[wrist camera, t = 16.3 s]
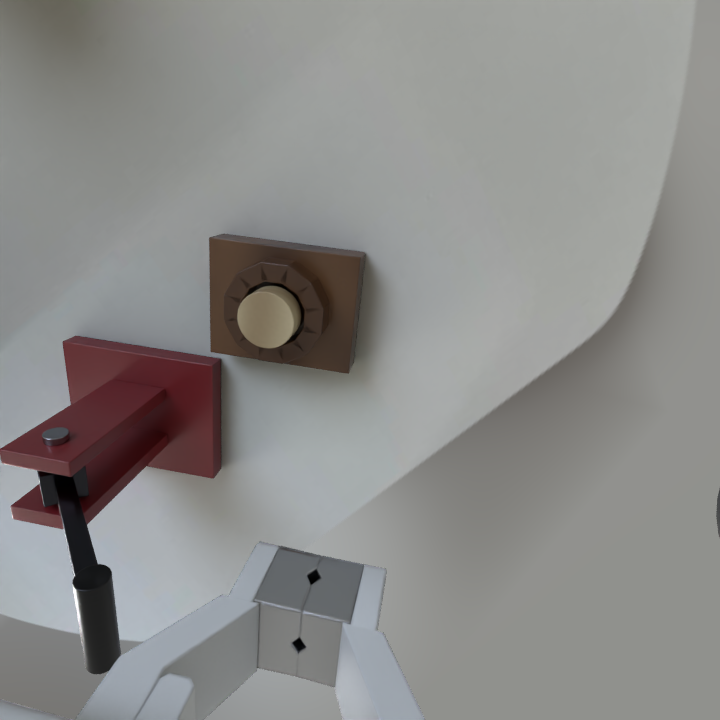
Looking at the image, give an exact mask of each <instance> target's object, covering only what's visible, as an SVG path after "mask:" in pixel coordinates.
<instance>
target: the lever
mask: <svg viewBox="0 0 720 720" xmlns="http://www.w3.org/2000/svg"><path fill="white" fill-rule="evenodd" d="M37 472H38V478H39V484H40V489H41V495H42V500H43V506H44V507H48V506H52V505H56V504H58V506H59V511H60V515H61V520H62V524H63V529H64V533H65V538H66V543H67V547H68V552H69V556H70V561H71V565H72V570H73V575H74V579H73V590H74V597H75V603H76V609H77V616H78V622H79V629H80V635H81V641H82V648H83V654H84V660H85V667H86V669H87V671H88V672H90V673H92V674H102V673H105V672H107V671H109V670H110V669H111V668H112V666H113V665H114V663H115V662H116V661H117V659H118V658H119V657H120V656H121V650H120V642H119V633H118V624H117V616H116V607H115V598H114V590H113V581H112V572H111V570H110V568H109V567H107V566H106V565H101V564H98V563H97V560H96V556H95V553H94V549H93V545H92V542H91V538H90V535H89V531H88V528H87V524H86V520H85V517H84V513H83V510H82V506H81V503H80V499H79V498H82V497H85V496H88V495H89V489H88V481H87V473H86V466H84V467H83V468H81V469H80V470H79V471H78V472H77V473H75V474H74V475H73V476H71V477H69V476H64V475H59V474H53V473H48V472H43V471H38V470H37Z"/></svg>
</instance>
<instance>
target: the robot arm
mask: <svg viewBox="0 0 720 720" xmlns="http://www.w3.org/2000/svg"><path fill="white" fill-rule="evenodd" d="M386 574H387V570H386V568H381V567H376V566H370V565H366V564H365V566H364V564H360V563H355V562H351V561H345V560H341V559H335V558H331V557H326V556H320V555H316V554H312V553H308V552H304V551H300V550H296V549H292V548H288V547H283V546H277V545H273V544H269V543H265V542H261V541H260V542H259V543H258V544H257V545H256V546H255V548H254V549H253V551H252V553H251V555H250V557H249V559H248V560H247V562H246V564H245V566H244V568H243V570H242V571H241V573H240V575H239V577H238V579H237V581H236V583H235V584H234V586H233V588H232V590H231V592H230V594H229V595H228V596H226V595H220V596H219V597H217V598H216V599H214V600H212V601H211V602H209V603H207V604H206V605H204V606H202V607H201V608H199V609H197V610H196V611H194V612H192V613H191V614H189V615H187V616H186V617H184V618H182V619H181V620H179V621H178V622H176V623H174V624H173V625H171V626H169V627H168V628H166V629H164V630H163V631H161V632H159V633H158V634H156V635H154V636H153V637H151V638H149V639H148V640H146V641H144V642H143V643H141V644H140V645H138V646H136V647H135V648H133V649H131V650H130V651H128V652H126V653H125V654H123V655H121V656H120V657H119V658H118V659H117V661H116V662H115V663H114V665H113V666H112V668H111V669H110V670H109V672H108V673H107V675H106V676H105V678H104V679H103V681H102V682H101V683H100V685H99V686H98V687H97V689H96V690H95V692H94V693H93V695H92V696H91V697H90V699H89V700H88V702H87V703H86V704H85V706H84V707H83V709H82V710H81V712H80V713H79V714H78V716H77V717H76V719H75V720H204V719H205V718H206V717H207V716H208V715H210V714H211V713H212V712H213V711H214V710H215V709H216V708H217V707H218V706H219V705H220V704H221V703H222V702H224V701H225V700H226V699H227V698H228V697H229V696H230V695H231V694H232V693H233V692H234V691H235V690H237V689H238V688H239V687H240V686H241V685H242V684H243V683H244V682H245V681H246V680H247V679H248V678H250V677H251V676H252V675H253V674H254V673H255V672H256V671H257V668H260V669H264V670H269V671H274V672H279V673H283V674H287V675H292V676H296V677H300V678H304V679H307V680H310V681H314V682H318V683H321V684H325V685H328V686H332V687H335V693H336V696H337V700H338V703H339V707H340V710H341V714H342V718H343V720H425V718H424V716H423V714H422V712H421V710H420V708H419V705H418V703H417V701H416V700H415V697H414V695H413V693H412V691H411V689H410V687H409V685H408V682H407V680H406V678H405V676H404V674H403V672H402V670H401V668H400V666H399V664H398V661H397V659H396V657H395V655H394V653H393V651H392V649H391V647H390V645H389V643H388V640H387V639H386V636H385V634H384V633H383V632H379V631H377V630H378V624H379V617H380V611H381V605H382V599H383V593H384V586H385V580H386ZM0 720H73V719H70V718H66V717H62V716H59V715H55V714H52V713H48V712H45V711H41V710H38V709H34V708H30V707H27V706H23V705H19V704H16V703H13V702H9V701H5V700H2V699H0Z"/></svg>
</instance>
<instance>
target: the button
mask: <svg viewBox="0 0 720 720" xmlns="http://www.w3.org/2000/svg"><path fill="white" fill-rule="evenodd" d="M237 319H238V325H239V328H240V330H241V332H242V334H243V335H244V336H245V337H246V339H247V340H249V341H250V342H251V343H253V344H254V345H256V346H259V347H262V348H276V347H279V346H281V345H283V344H284V343H286V342H287V341H288V340H289V339H290V338H291V337H292V335H293V334H294V333H295V332H296V331H297V329H298V328H299V325H300V322H301V309H300V306H299V304H298V302H297V300H296V299H295V297H294V296H293V295H292V294H291V293H290V292H288V291H287V290H285V289H283V288H281V287H278V286H265V287H262V288H260V289H258V290H256V291H255V292H253V293H251V294H250V295H248V296H247V297H246V298H245V299H244V300H243V301H242V302H241V304H240V306H239V309H238V314H237Z"/></svg>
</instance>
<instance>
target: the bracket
mask: <svg viewBox="0 0 720 720" xmlns="http://www.w3.org/2000/svg"><path fill="white" fill-rule="evenodd" d="M63 349H64V356H65V364H66V371H67V379H68V386H69V394H70V401H71V405H70V406H68V407H67V408H65V409H64V410H62V411H60V412H59V413H57V414H56V415H54V416H52V417H51V418H49V419H48V420H46V421H44V422H43V423H41V424H40V425H38V426H36V427H35V428H33V429H32V430H30V431H28V432H27V433H25V434H23V435H22V436H20V437H19V438H17V439H15V440H14V441H12V442H11V443H9V444H7V445H6V446H4V447H3V448H1V449H0V456H1V461H2V464H6V465H12V466H17V467H22V468H27V469H32V470H38V471H43V472H48V473H53V474H59V475H64V476H69V477H71V476H73V475H74V474H75V473H77V472H78V471H79V470H80V469H81V468H83V467H84V466H86V473H87V481H88V489H89V495H88V496H85V497H82V498H79V499H80V503H81V506H82V510H83V513H84V517H85V520H86V524H88V523H89V522H90V521H91V520H92V519H93V518H94V517H95V516H96V515H97V514H98V513H99V512H100V511H101V510H102V509H103V508H104V507H105V506H106V505H107V504H108V503H109V502H110V501H111V500H112V499H113V498H114V497H115V496H116V495H117V494H118V493H119V492H120V491H121V490H122V489H123V488H124V487H126V486H127V485H128V484H129V483H130V482H131V481H132V480H133V479H134V478H135V477H136V476H137V475H138V474H139V473H140V472H141V471H142V470H143V469H144V468H145V467H146V466H149V467H154V468H159V469H165V470H170V471H175V472H181V473H186V474H192V475H197V476H202V477H208V478H214V477H215V476H216V475H217V473H218V472H219V471H220V469H221V359H219V358H213V357H206V356H200V355H194V354H187V353H181V352H175V351H168V350H162V349H156V348H150V347H143V346H137V345H131V344H124V343H118V342H112V341H106V340H99V339H93V338H87V337H80V336H74V337H72V338H70V339H67V340H65V341H63ZM11 512H12V516H13V519H15V520H20V521H25V522H30V523H35V524H40V525H45V526H49V527H54V528H59V529H63V524H62V520H61V515H60V511H59V506H58V504H56V505H52V506H48V507H44V506H43V500H42V495H41V489H40V484H39V485H37V486H36V487H35V488H33V489H32V490H31V491H30V492H28V493H27V494H26V495H24V496H23V497H22V498H20V499H19V500H18V501H17V502H15V503H14V504H13V505H11Z"/></svg>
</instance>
